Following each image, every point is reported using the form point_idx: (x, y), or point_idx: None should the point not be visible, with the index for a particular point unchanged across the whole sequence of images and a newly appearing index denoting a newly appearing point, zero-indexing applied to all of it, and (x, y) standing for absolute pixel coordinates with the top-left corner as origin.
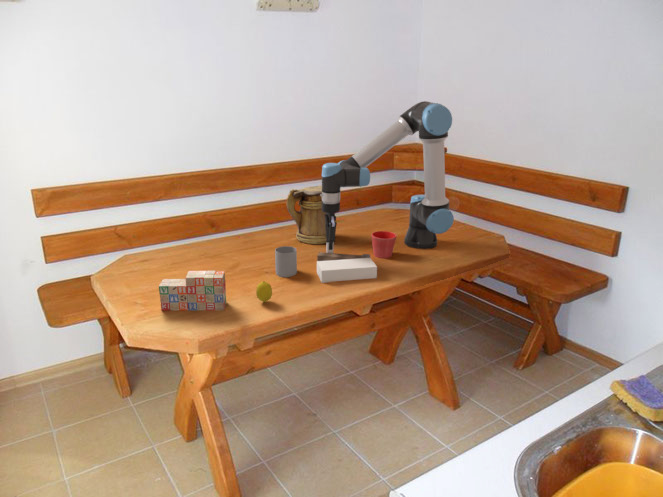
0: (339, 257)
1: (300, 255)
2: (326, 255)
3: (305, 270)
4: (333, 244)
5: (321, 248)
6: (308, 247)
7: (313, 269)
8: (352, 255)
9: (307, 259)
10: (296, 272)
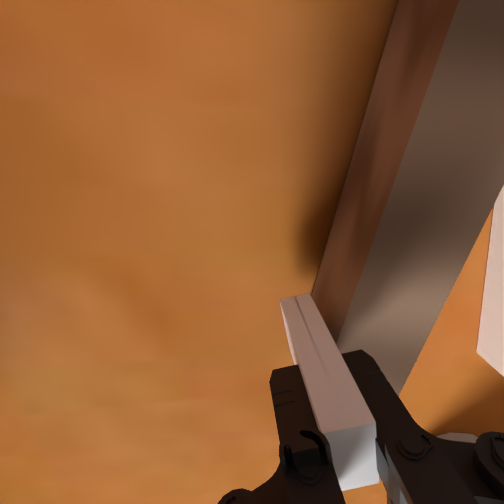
0: (465, 253)
1: (186, 450)
2: (400, 364)
3: (423, 404)
4: (355, 385)
5: (10, 362)
6: (21, 433)
7: (417, 371)
8: (455, 97)
9: (252, 414)
10: (463, 439)
